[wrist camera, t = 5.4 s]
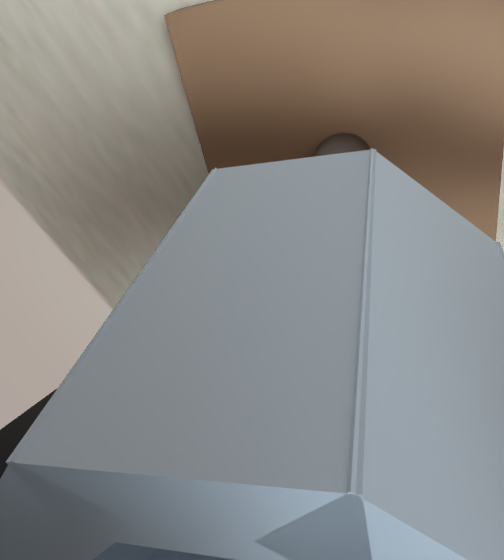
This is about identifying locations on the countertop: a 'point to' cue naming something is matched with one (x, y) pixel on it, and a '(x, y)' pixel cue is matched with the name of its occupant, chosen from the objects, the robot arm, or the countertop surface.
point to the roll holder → (353, 87)
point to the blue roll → (283, 385)
